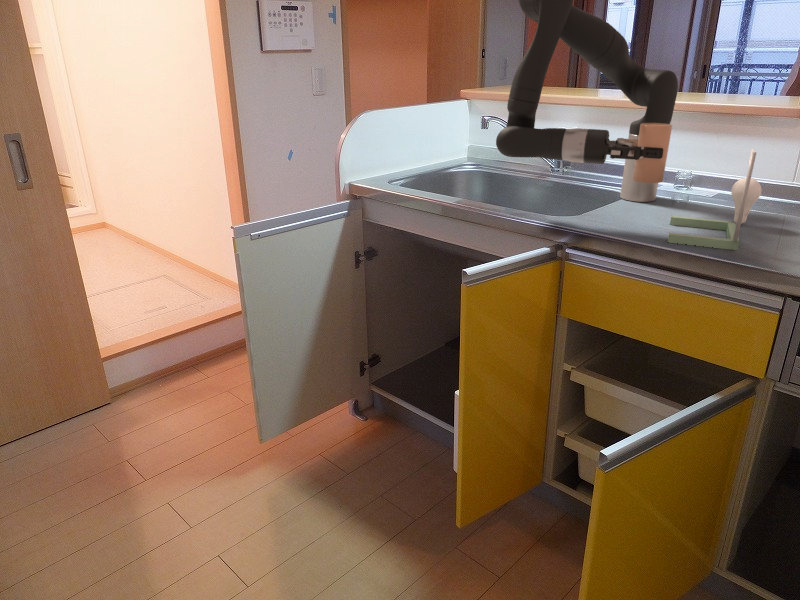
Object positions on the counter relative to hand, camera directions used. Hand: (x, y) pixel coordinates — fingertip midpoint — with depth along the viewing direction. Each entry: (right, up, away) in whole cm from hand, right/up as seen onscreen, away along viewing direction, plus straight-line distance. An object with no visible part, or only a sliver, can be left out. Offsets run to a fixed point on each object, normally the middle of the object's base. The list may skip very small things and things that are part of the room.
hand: (663, 151), depth 136 cm
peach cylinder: (-2, -6, +3) cm, 7 cm away
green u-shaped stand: (+9, -18, +3) cm, 20 cm away
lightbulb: (+23, -15, +12) cm, 30 cm away
